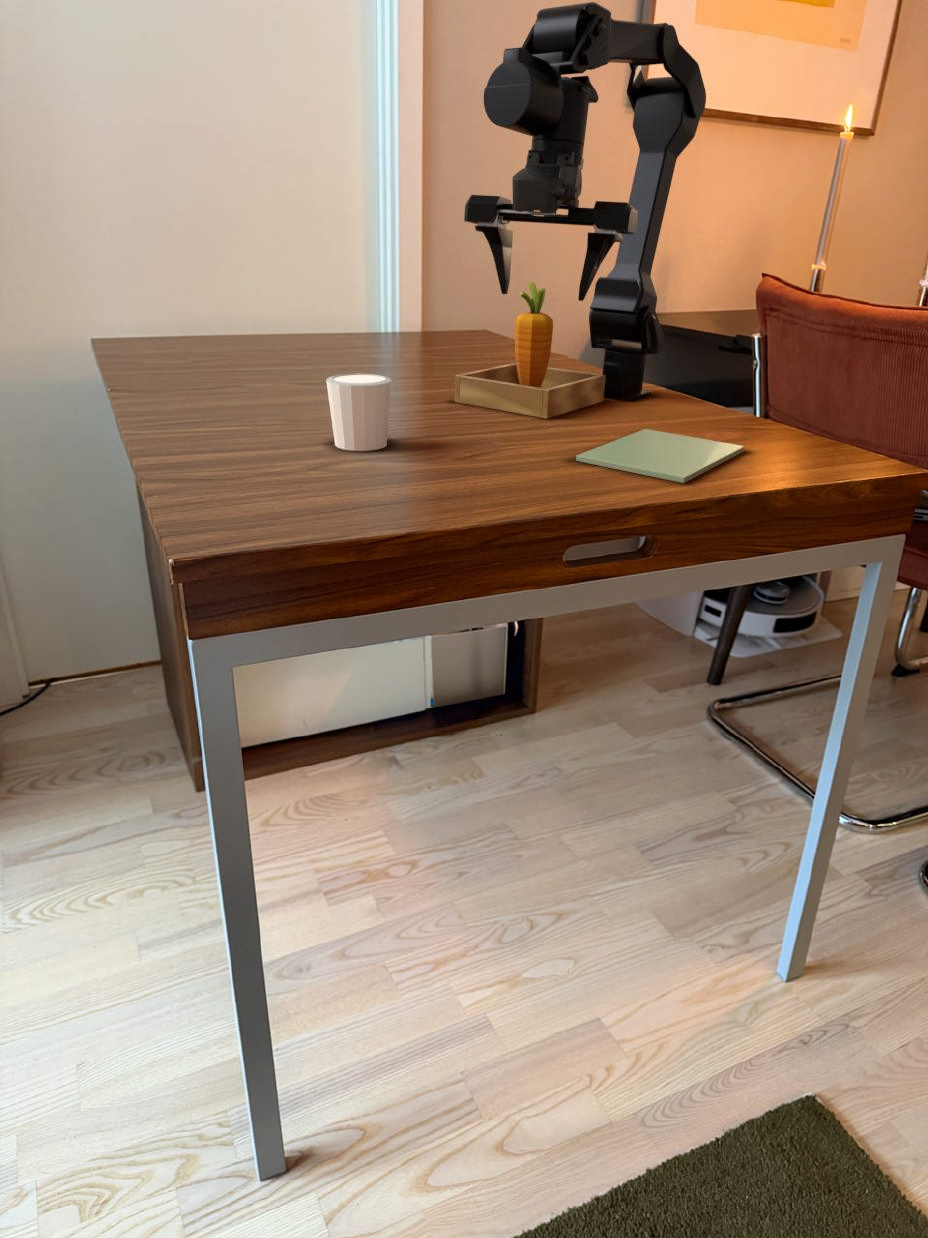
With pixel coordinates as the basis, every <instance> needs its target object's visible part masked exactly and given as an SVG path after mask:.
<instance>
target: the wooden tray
mask: <svg viewBox="0 0 928 1238" xmlns="http://www.w3.org/2000/svg"><path fill="white" fill-rule="evenodd" d="M605 379H606V375H602V374H599V373H594V372H593V373H592V372H586V371H578V370H571V369H565V368H558V367H549V366H548V367H547V371H546V374H545V378H544V381H543V383H542V385H541V388H540V387H533V386H527V385H521V384H520V382H519V378H518V373H517V366H516V362H513V363H508V364H503V365H498V366H494V367H489V368H484V369H479V370H474V371H470V372H465V373H459V374H455V375H454V402H455V403H458V404H463V405H469V406H475V407H480V408H487V409H490V410H498V411H503V412H508V413H513V414H519V415H525V416H528V417H529V416H530V417H536V418H540V419H551V418H554V417H557V416H560V415H563V414H568V413H569V412H574V411H577V410H579V409H583V408H586V407H590V406H592V405H596V404H600V403H602V402H604V398H605V396H604V389H605Z"/></svg>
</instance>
